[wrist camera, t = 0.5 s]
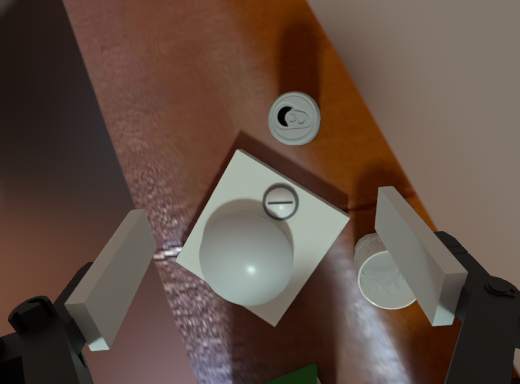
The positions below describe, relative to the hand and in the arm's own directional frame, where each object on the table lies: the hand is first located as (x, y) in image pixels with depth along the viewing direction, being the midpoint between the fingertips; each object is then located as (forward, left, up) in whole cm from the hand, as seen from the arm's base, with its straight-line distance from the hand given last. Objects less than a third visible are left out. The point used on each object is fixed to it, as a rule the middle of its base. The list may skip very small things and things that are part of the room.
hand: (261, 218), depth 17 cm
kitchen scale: (0, +13, -32) cm, 34 cm away
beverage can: (+4, -6, -32) cm, 33 cm away
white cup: (-17, +5, -32) cm, 37 cm away
